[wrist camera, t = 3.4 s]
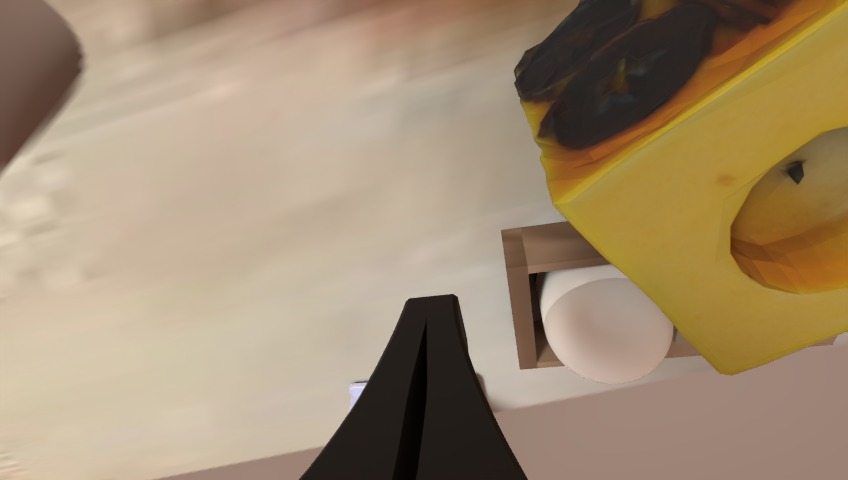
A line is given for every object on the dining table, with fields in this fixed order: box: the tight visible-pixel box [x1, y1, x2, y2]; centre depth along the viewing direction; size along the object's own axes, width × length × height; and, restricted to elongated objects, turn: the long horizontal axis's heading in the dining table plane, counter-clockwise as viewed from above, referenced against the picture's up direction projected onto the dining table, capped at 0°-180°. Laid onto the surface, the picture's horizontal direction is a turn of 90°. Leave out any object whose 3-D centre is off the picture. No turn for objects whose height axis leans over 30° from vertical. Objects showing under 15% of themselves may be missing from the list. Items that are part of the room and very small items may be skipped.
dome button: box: [536, 264, 673, 384], centre depth 22 cm, size 6×6×6 cm
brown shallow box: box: [501, 221, 837, 369], centre depth 23 cm, size 16×8×3 cm, turn 102°
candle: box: [514, 0, 848, 375], centre depth 14 cm, size 10×10×10 cm
